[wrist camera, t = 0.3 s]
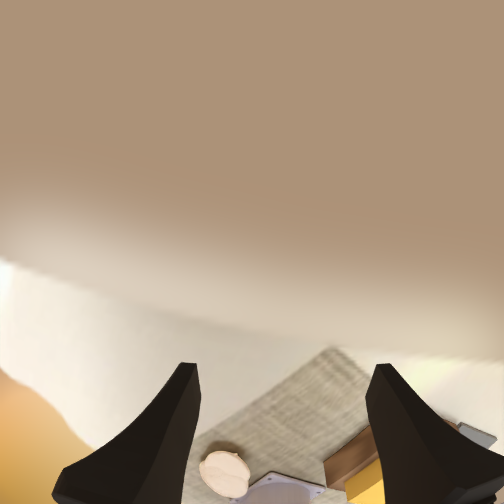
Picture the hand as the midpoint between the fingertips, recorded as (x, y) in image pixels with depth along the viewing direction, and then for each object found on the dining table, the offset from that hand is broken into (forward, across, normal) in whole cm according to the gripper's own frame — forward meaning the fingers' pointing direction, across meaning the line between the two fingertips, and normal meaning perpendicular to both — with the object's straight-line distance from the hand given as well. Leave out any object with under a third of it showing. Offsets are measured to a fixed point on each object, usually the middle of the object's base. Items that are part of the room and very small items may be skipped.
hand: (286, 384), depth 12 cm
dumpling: (+8, +4, +22) cm, 24 cm away
